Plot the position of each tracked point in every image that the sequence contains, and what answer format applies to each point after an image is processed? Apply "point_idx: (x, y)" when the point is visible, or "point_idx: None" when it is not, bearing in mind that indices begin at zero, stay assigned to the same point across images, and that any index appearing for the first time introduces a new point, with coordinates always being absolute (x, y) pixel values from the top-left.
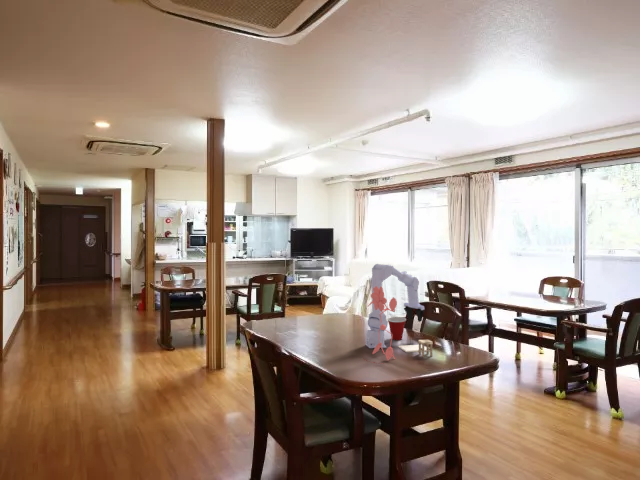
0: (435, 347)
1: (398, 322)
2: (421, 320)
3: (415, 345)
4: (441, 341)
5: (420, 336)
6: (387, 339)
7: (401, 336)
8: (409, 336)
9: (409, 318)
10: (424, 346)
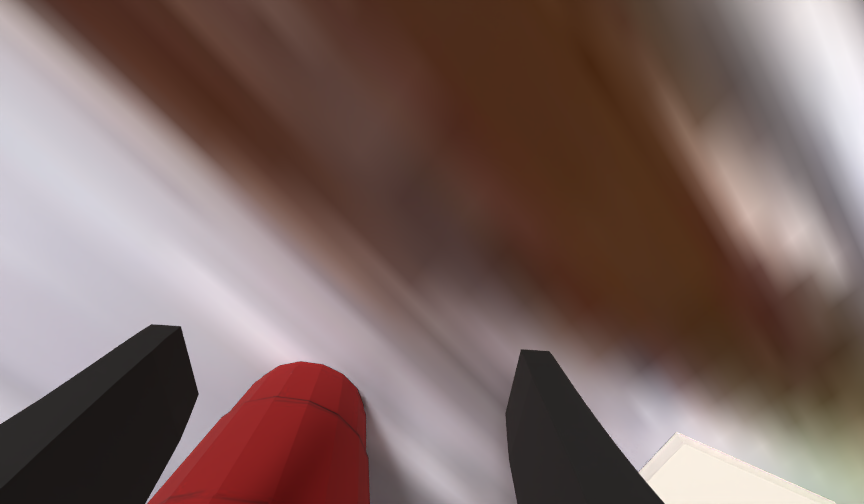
0: (821, 372)
1: None
2: (555, 370)
3: None
4: (765, 69)
5: (354, 56)
6: None
7: (364, 431)
8: (270, 191)
9: (186, 421)
10: (745, 472)
